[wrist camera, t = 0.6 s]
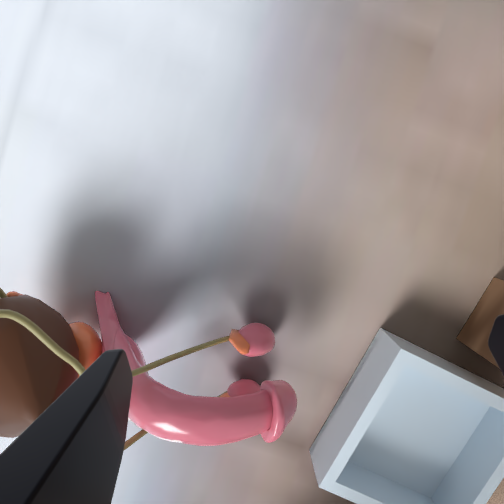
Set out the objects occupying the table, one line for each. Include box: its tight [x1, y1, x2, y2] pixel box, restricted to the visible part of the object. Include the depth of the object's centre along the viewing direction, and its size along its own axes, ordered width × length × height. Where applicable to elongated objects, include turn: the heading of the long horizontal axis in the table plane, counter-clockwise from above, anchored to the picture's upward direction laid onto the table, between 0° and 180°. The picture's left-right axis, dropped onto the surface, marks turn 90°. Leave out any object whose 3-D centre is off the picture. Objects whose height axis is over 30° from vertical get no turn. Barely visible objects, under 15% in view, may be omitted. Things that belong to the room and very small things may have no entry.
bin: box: [309, 328, 504, 504], centre depth 25 cm, size 11×11×4 cm
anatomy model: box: [0, 288, 297, 451], centre depth 21 cm, size 11×15×17 cm
